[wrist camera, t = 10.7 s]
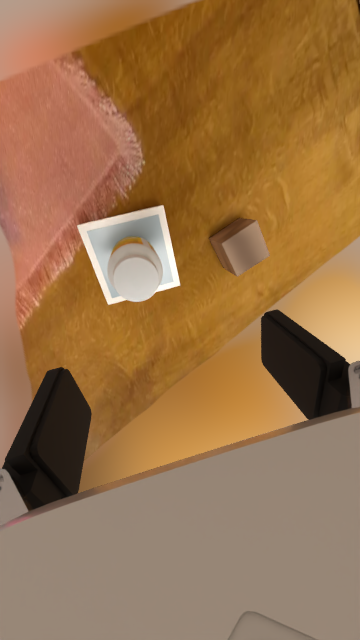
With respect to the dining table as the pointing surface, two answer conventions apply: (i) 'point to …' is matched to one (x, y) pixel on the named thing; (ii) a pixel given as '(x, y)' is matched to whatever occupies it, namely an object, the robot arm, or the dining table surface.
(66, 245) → the dining table surface
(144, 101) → the dining table surface
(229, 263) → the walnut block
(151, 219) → the base
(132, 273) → the supplement bottle
